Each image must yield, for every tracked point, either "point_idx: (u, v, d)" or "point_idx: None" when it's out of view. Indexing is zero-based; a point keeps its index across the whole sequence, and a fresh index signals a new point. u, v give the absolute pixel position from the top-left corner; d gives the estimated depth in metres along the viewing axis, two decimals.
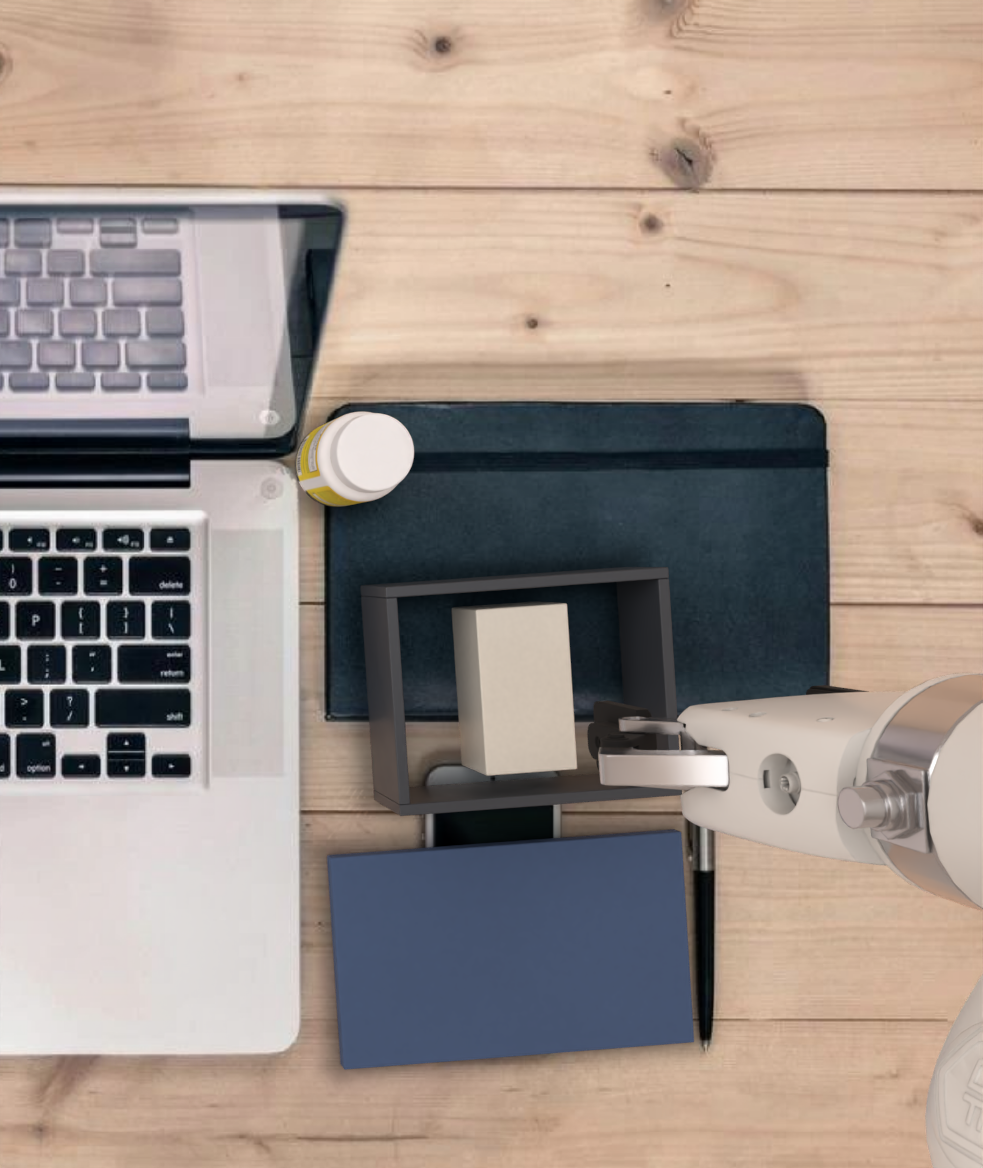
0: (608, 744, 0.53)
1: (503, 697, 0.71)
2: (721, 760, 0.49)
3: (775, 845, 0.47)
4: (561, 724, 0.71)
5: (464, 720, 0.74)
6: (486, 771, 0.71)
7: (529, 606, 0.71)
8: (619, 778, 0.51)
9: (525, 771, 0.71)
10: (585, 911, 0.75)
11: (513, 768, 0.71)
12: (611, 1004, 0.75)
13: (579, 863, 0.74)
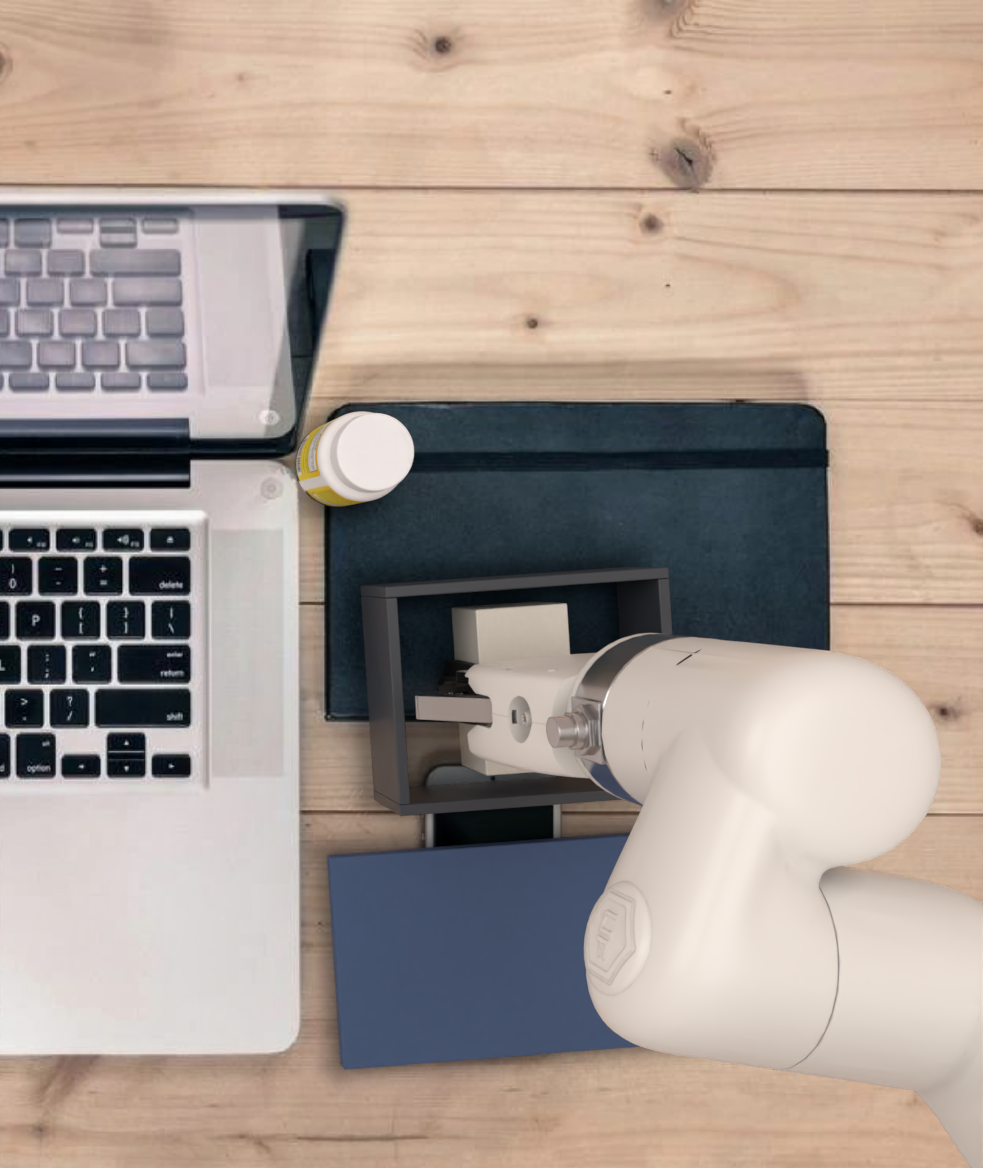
0: (443, 690, 0.68)
1: None
2: (487, 702, 0.64)
3: (520, 767, 0.61)
4: None
5: None
6: (486, 771, 0.71)
7: (529, 606, 0.71)
8: (424, 714, 0.67)
9: (525, 771, 0.71)
10: (585, 911, 0.75)
11: (513, 768, 0.71)
12: None
13: (579, 863, 0.74)
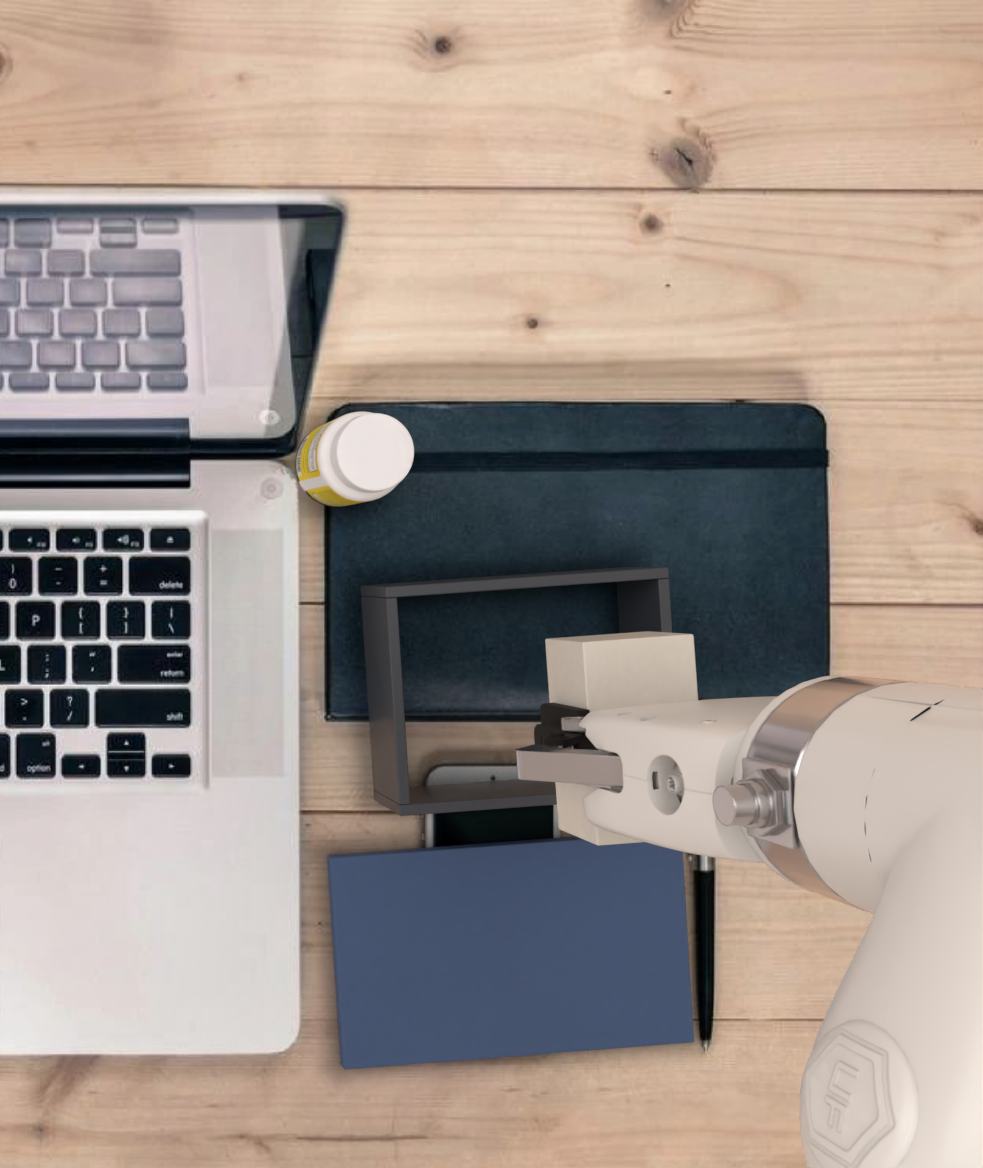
0: (549, 742, 0.55)
1: None
2: (613, 760, 0.51)
3: (664, 845, 0.48)
4: None
5: None
6: (597, 840, 0.58)
7: (647, 638, 0.58)
8: (529, 773, 0.54)
9: None
10: (585, 911, 0.75)
11: None
12: (611, 1004, 0.75)
13: (579, 863, 0.74)
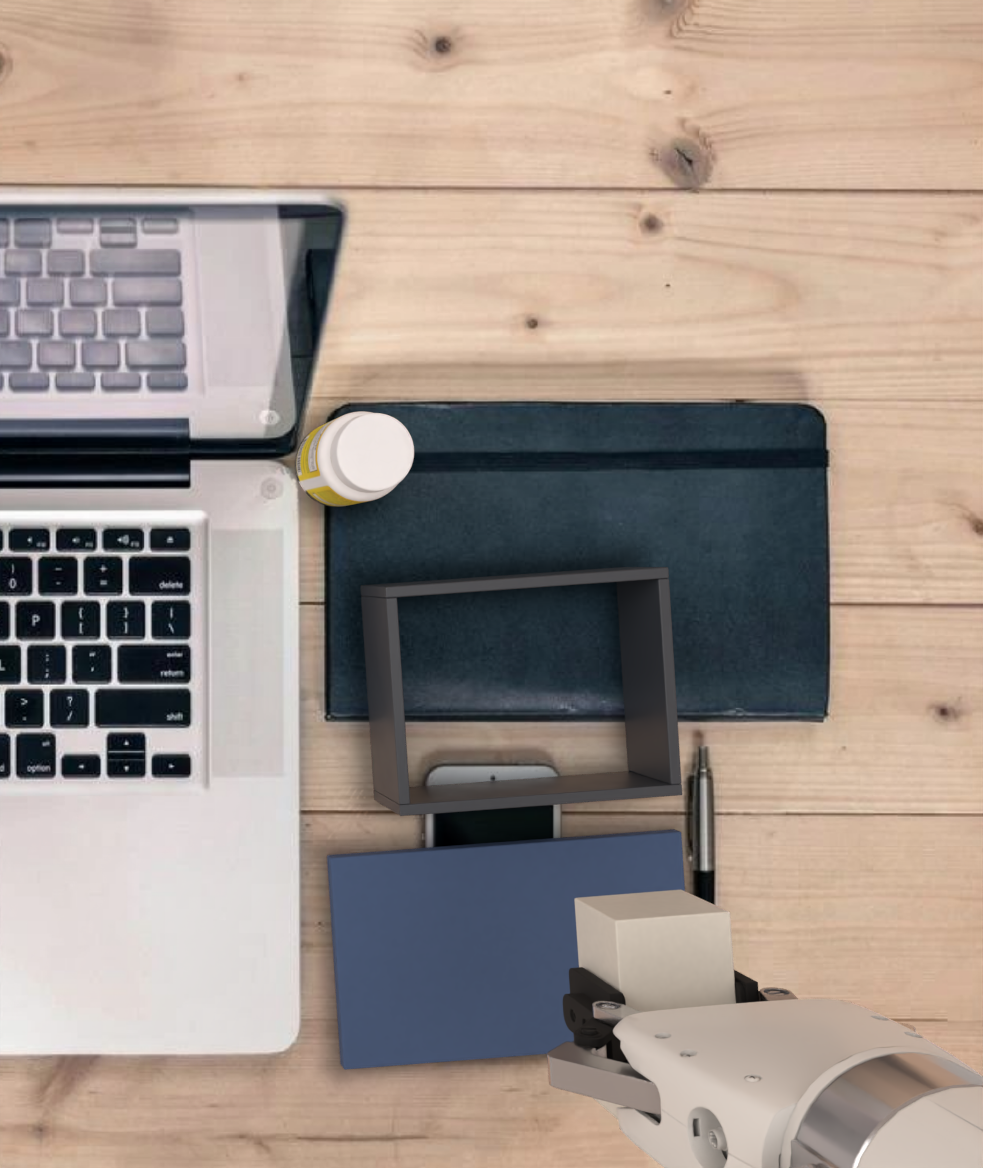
0: (581, 1041, 0.53)
1: None
2: (650, 1087, 0.49)
3: None
4: None
5: None
6: None
7: (682, 915, 0.56)
8: (561, 1082, 0.52)
9: None
10: None
11: None
12: None
13: (579, 863, 0.74)
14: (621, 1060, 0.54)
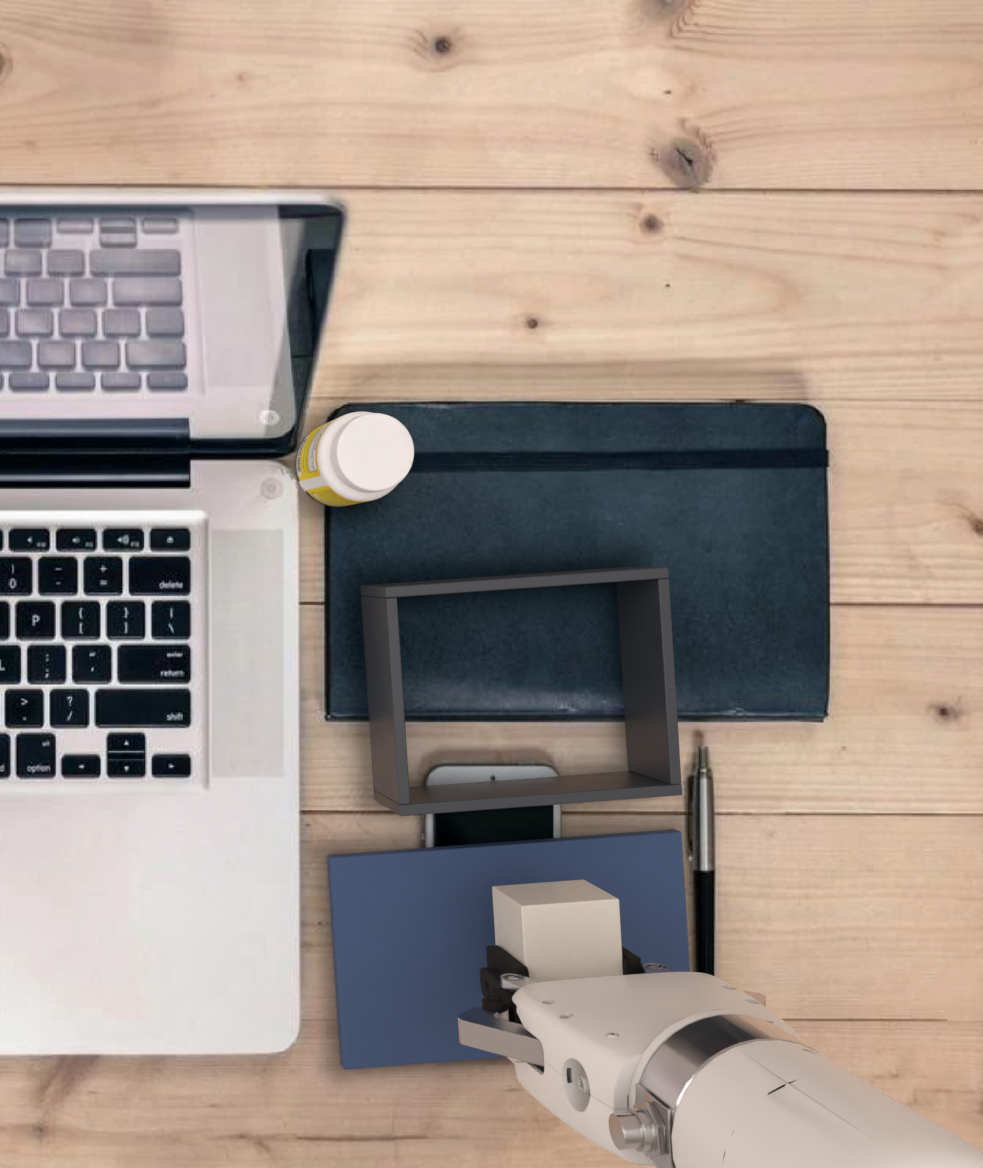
0: (487, 1006, 0.64)
1: None
2: (537, 1043, 0.59)
3: None
4: None
5: None
6: None
7: (578, 901, 0.67)
8: (468, 1040, 0.62)
9: None
10: None
11: None
12: None
13: (579, 863, 0.74)
14: None
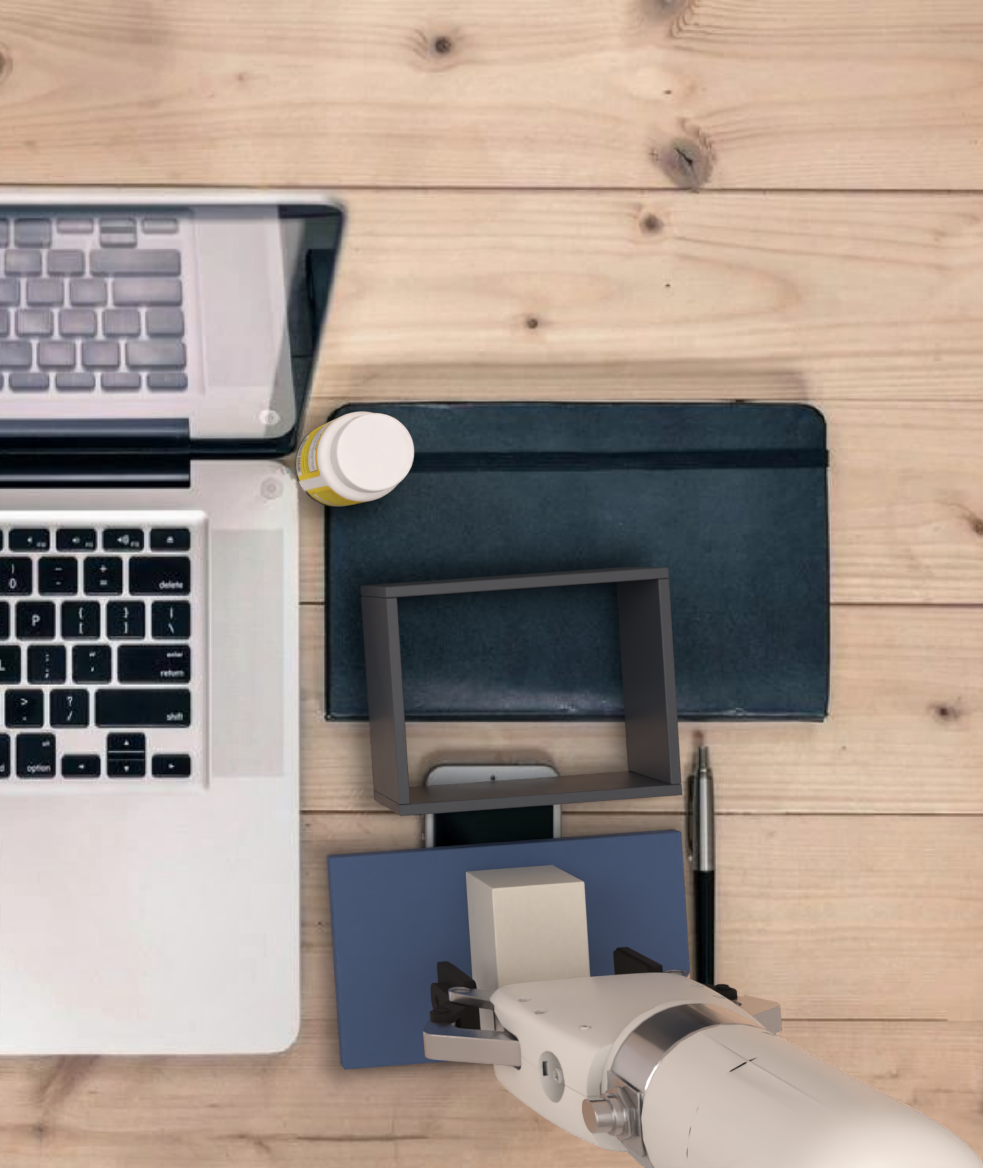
0: (434, 1018, 0.65)
1: (520, 977, 0.70)
2: (516, 1045, 0.61)
3: (552, 1122, 0.59)
4: None
5: None
6: None
7: (546, 884, 0.71)
8: (438, 1054, 0.63)
9: None
10: None
11: None
12: None
13: (579, 863, 0.74)
14: None
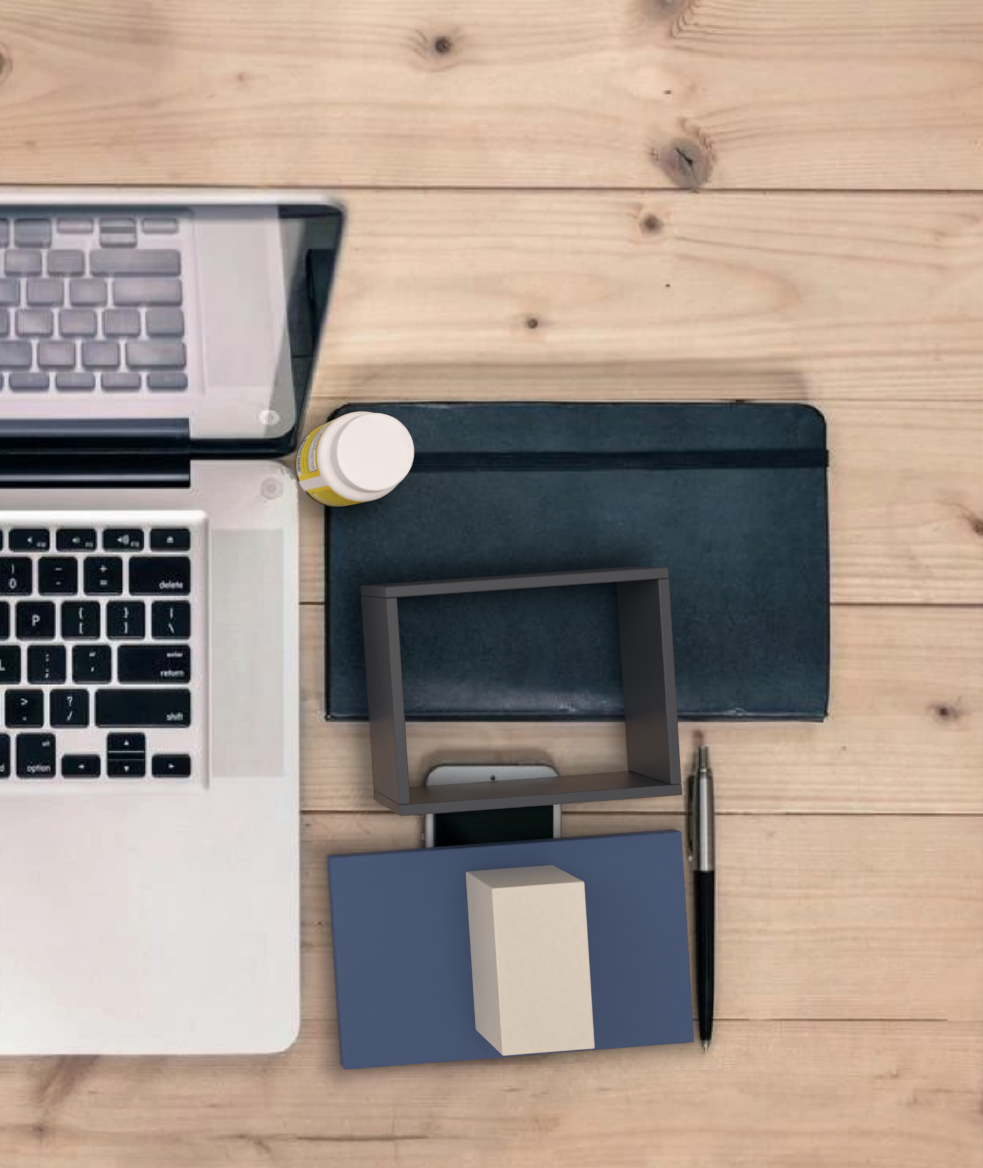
0: None
1: (520, 977, 0.70)
2: None
3: None
4: (578, 1003, 0.71)
5: (480, 990, 0.73)
6: (502, 1051, 0.71)
7: (546, 884, 0.71)
8: None
9: (542, 1051, 0.71)
10: None
11: (530, 1048, 0.71)
12: (611, 1004, 0.75)
13: (579, 863, 0.74)
14: None
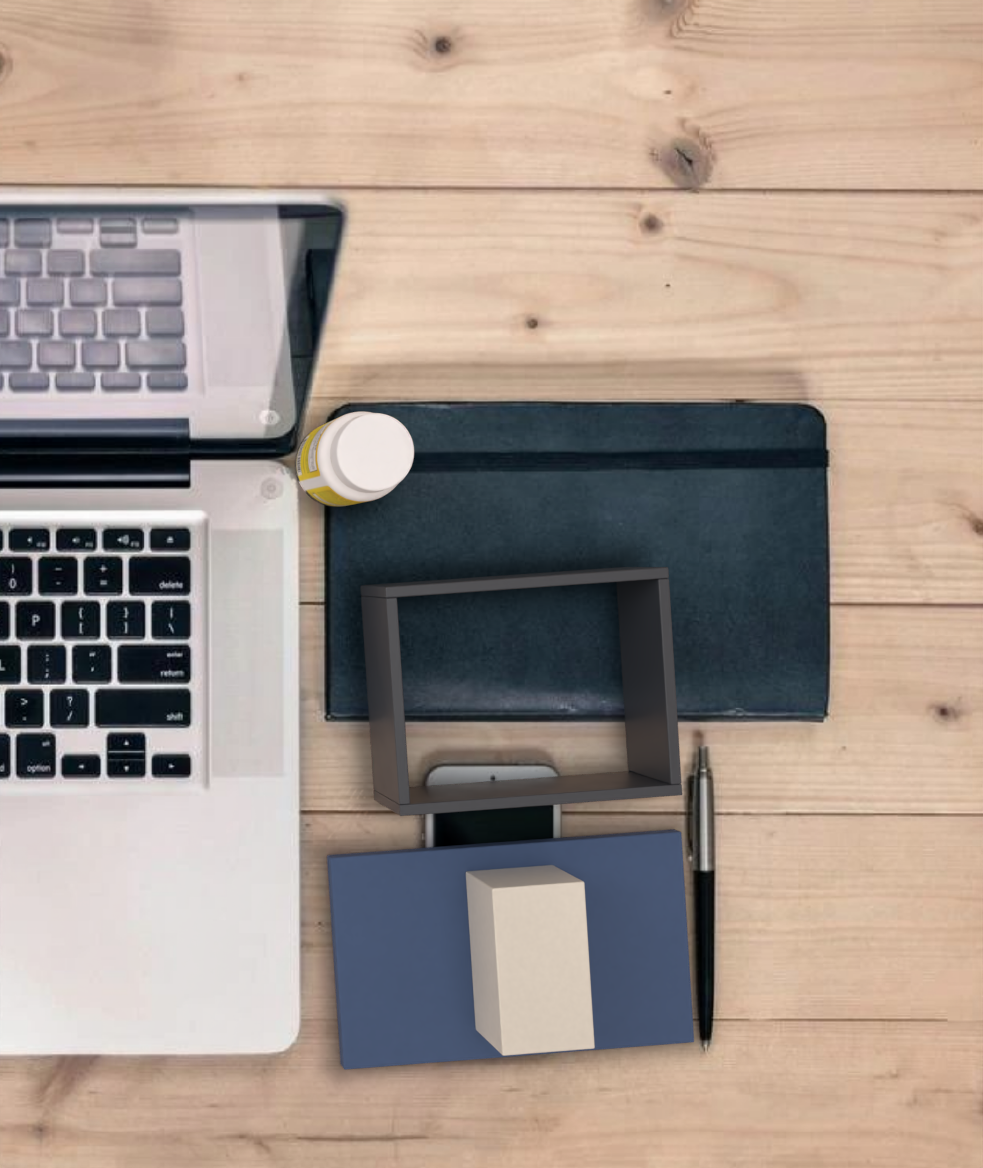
0: None
1: (520, 977, 0.70)
2: None
3: None
4: (578, 1003, 0.71)
5: (480, 990, 0.73)
6: (502, 1051, 0.71)
7: (546, 884, 0.71)
8: None
9: (542, 1051, 0.71)
10: None
11: (530, 1048, 0.71)
12: (611, 1004, 0.75)
13: (579, 863, 0.74)
14: None
